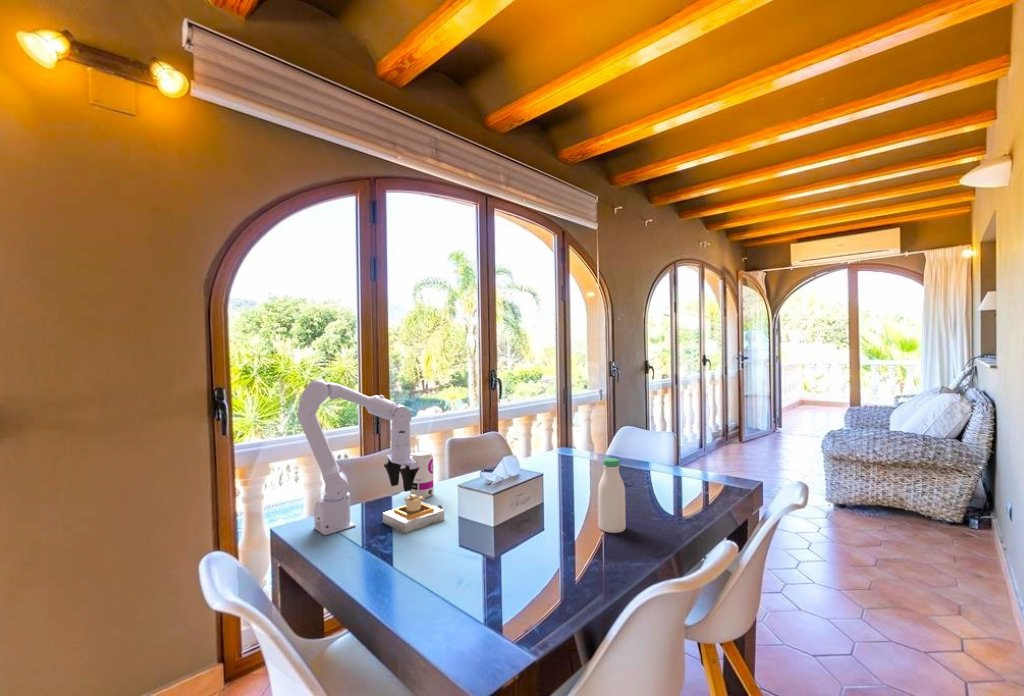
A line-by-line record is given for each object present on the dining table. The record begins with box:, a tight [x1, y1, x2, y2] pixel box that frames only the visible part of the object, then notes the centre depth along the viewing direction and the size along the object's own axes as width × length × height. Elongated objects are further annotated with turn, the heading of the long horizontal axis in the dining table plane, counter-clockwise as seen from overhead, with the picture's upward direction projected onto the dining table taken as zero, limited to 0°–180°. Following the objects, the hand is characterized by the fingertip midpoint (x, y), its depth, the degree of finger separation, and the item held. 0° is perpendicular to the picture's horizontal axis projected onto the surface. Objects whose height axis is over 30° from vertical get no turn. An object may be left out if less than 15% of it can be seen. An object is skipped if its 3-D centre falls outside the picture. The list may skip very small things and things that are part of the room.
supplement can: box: [409, 450, 435, 499], centre depth 166 cm, size 8×8×15 cm
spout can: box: [405, 494, 426, 515], centre depth 142 cm, size 6×4×8 cm
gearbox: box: [382, 500, 445, 534], centre depth 142 cm, size 17×12×4 cm
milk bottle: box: [597, 457, 627, 534], centre depth 134 cm, size 8×8×20 cm
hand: (401, 488), depth 144 cm, fingers open, 7 cm apart
